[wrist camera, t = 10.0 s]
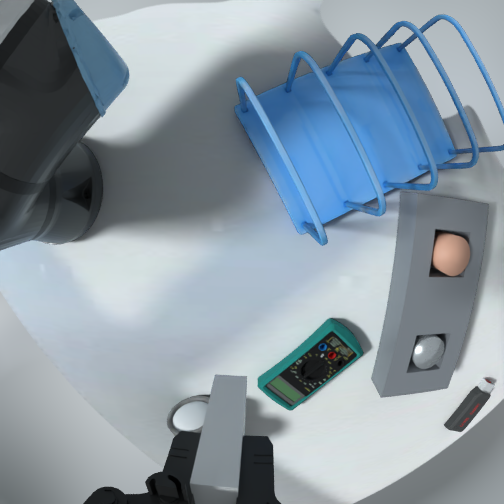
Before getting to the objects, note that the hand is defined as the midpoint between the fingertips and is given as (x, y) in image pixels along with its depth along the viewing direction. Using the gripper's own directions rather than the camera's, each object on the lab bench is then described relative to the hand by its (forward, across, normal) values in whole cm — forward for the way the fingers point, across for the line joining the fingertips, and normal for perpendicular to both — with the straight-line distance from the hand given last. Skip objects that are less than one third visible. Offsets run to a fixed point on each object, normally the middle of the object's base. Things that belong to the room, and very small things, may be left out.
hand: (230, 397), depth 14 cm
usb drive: (+27, +44, -27) cm, 58 cm away
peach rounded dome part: (+24, +25, +3) cm, 35 cm away
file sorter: (+27, +13, +18) cm, 35 cm away
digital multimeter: (+27, +9, -15) cm, 32 cm away
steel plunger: (+25, +25, -11) cm, 37 cm away
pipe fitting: (+27, -6, -27) cm, 39 cm away
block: (+26, +25, -4) cm, 37 cm away
